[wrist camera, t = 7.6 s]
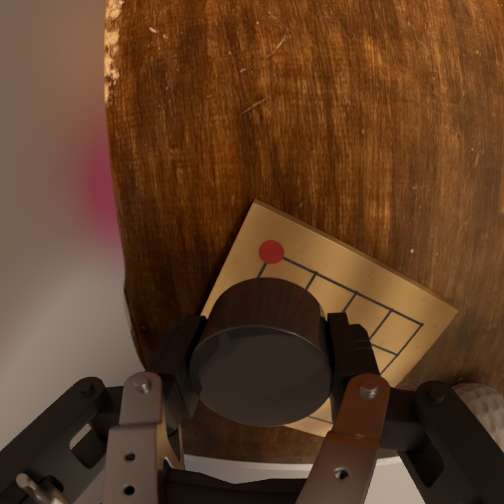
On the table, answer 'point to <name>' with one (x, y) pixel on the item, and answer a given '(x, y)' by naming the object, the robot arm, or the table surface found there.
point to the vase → (485, 407)
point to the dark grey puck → (264, 354)
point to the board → (338, 291)
